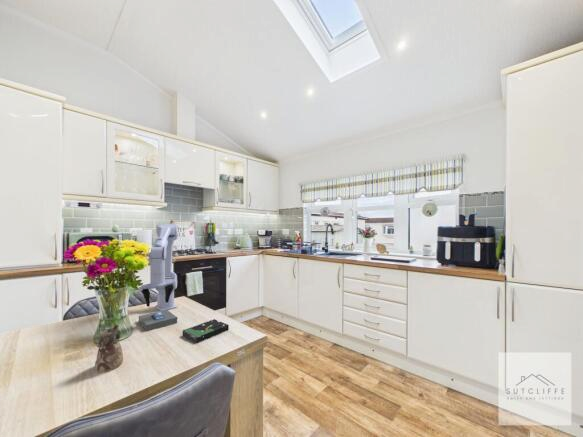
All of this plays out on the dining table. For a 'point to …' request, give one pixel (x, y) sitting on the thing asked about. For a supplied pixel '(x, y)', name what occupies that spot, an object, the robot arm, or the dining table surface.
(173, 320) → the chassis
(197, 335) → the disk drive
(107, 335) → the figurine
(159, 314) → the servo
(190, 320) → the dining table surface
